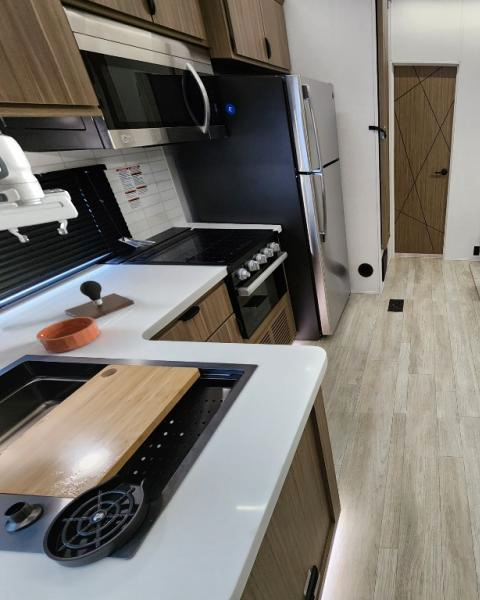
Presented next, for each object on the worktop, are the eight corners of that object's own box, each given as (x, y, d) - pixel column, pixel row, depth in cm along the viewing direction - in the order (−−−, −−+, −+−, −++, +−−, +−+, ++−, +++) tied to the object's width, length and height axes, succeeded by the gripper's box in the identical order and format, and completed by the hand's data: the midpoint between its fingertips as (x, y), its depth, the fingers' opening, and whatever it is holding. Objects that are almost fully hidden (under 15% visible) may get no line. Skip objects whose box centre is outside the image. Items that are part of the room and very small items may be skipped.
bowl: (56, 358, 98) (48, 344, 96) (37, 346, 104) (28, 333, 102) (109, 335, 109) (102, 322, 107) (88, 325, 115) (82, 313, 112)
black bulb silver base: (105, 300, 128) (93, 276, 123) (112, 304, 125) (100, 280, 121) (86, 306, 123) (73, 282, 119) (93, 310, 121) (80, 286, 116)
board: (84, 323, 116) (82, 319, 115) (66, 314, 122) (64, 310, 121) (134, 303, 128) (132, 300, 128) (115, 296, 134) (113, 293, 134)
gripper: (61, 187, 108) (80, 228, 115) (-32, 197, 92) (-4, 245, 98) (70, 188, 106) (89, 230, 112) (-24, 199, 89) (4, 248, 96)
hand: (45, 237), depth 105 cm, fingers open, 8 cm apart
